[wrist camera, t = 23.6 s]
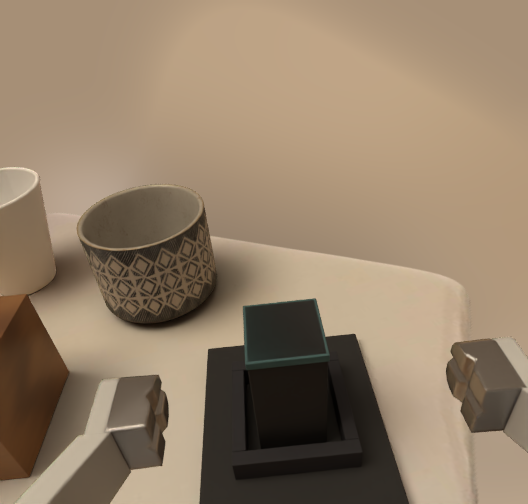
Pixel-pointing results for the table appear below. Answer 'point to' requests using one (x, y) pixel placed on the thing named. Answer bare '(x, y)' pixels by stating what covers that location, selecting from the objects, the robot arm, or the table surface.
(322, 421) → the pad block
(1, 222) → the cup
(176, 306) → the planter
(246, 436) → the base pad
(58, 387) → the block
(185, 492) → the table surface
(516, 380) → the robot arm
